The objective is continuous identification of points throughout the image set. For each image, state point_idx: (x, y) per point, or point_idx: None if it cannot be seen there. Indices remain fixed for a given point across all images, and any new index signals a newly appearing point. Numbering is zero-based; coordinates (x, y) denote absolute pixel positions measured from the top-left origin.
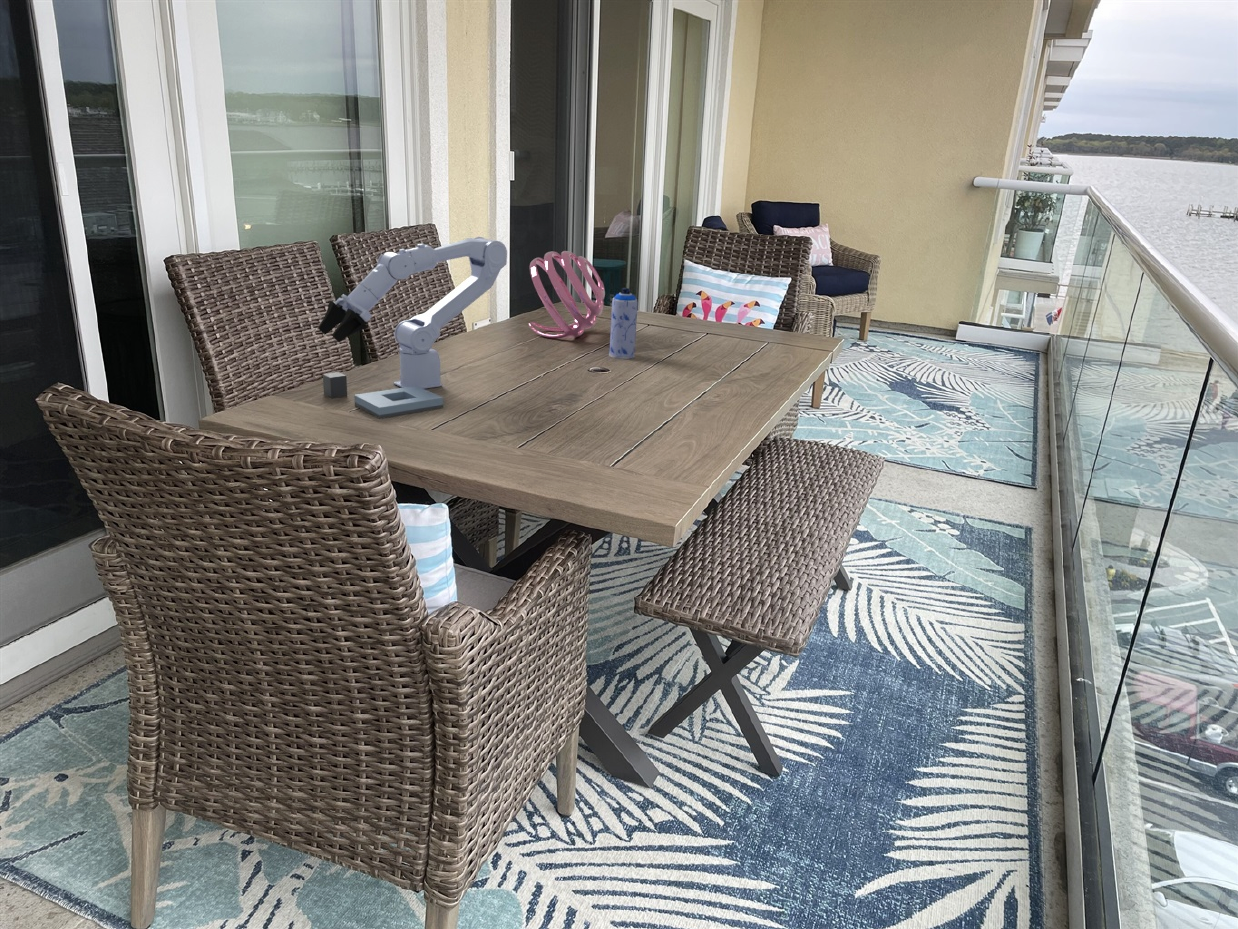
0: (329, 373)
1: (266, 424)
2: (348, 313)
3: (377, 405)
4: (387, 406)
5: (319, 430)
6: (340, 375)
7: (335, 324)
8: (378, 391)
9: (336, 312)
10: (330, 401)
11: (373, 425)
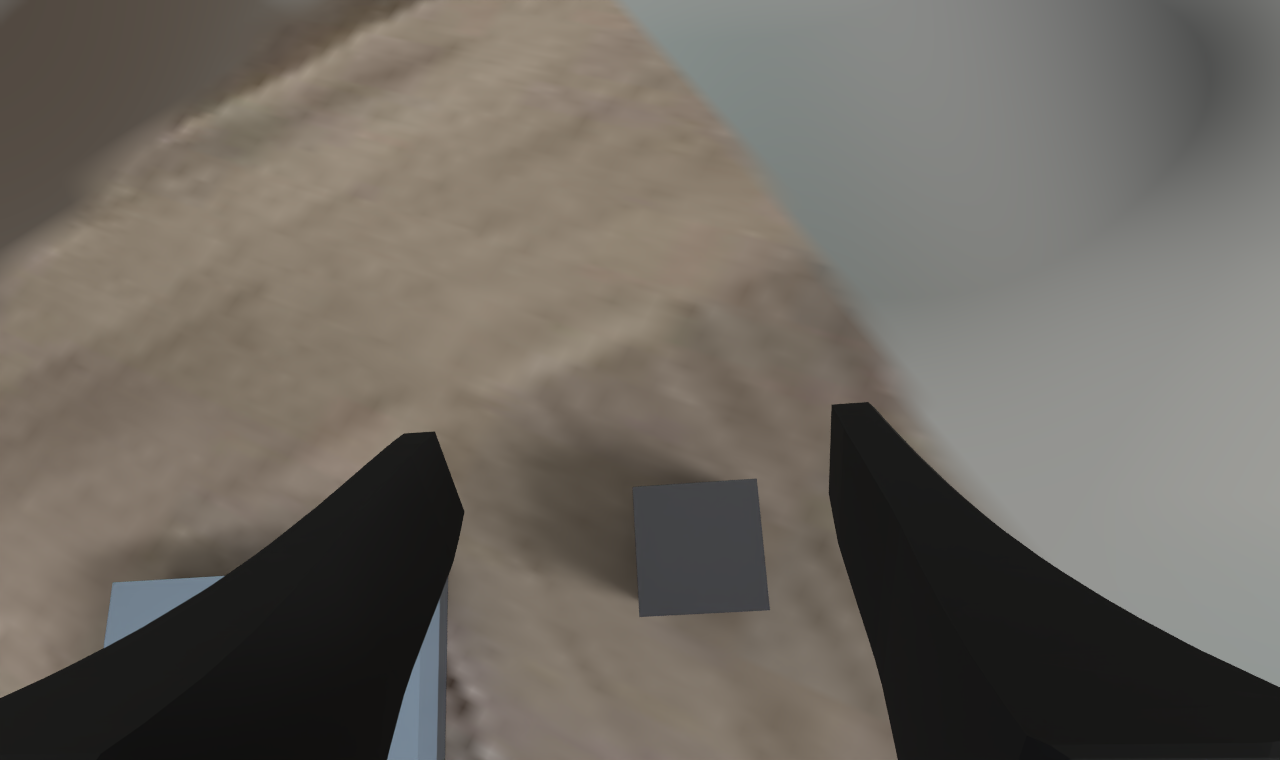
0: (753, 528)
1: (384, 105)
2: (68, 703)
3: (153, 593)
4: (105, 639)
5: (184, 265)
6: (662, 578)
7: (886, 672)
8: (413, 745)
9: (942, 750)
10: (587, 472)
11: (96, 505)
